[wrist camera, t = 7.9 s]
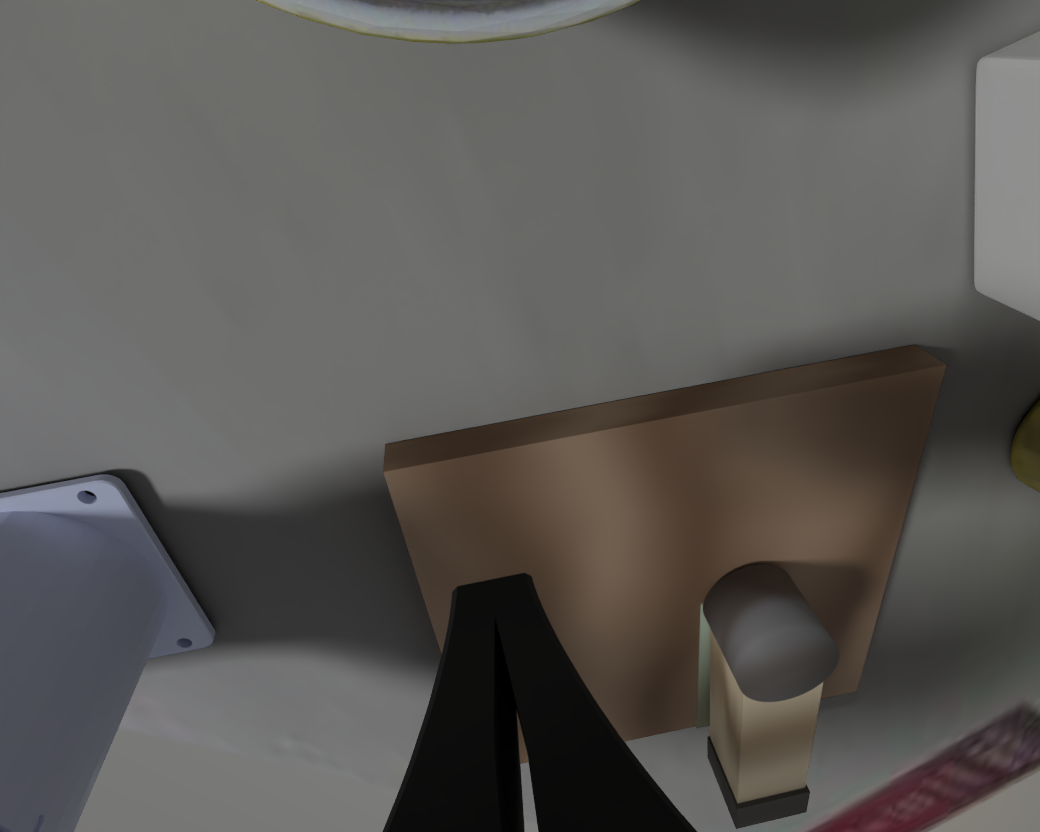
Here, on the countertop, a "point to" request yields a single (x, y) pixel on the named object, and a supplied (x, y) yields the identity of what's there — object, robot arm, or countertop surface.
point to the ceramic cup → (450, 17)
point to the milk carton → (1008, 176)
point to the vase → (1027, 449)
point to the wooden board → (677, 517)
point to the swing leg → (764, 691)
